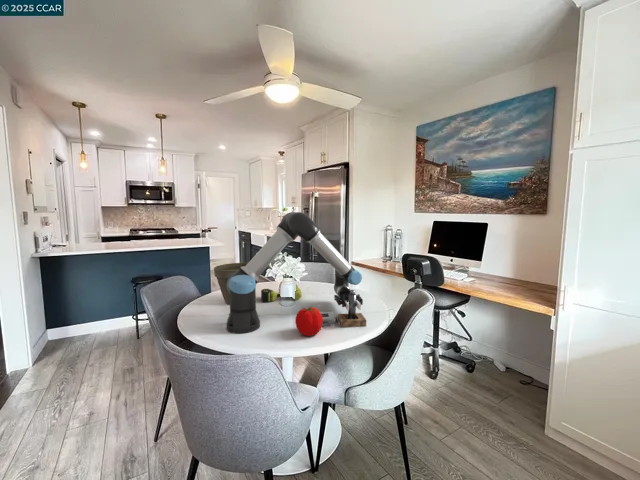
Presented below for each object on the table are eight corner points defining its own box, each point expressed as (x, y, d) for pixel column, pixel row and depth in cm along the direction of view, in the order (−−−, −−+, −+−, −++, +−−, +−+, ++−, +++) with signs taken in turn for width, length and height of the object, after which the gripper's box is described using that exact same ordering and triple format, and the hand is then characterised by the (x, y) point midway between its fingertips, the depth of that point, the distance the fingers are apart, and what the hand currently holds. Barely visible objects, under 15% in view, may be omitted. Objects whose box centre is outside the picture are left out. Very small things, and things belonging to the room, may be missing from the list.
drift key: (313, 328, 136) (313, 326, 136) (312, 327, 138) (312, 325, 138) (329, 326, 139) (329, 324, 139) (328, 324, 141) (328, 323, 141)
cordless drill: (261, 292, 199) (298, 290, 204) (260, 304, 175) (302, 302, 180) (261, 281, 199) (298, 280, 203) (260, 292, 174) (303, 290, 179)
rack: (340, 327, 138) (341, 321, 137) (337, 319, 148) (337, 313, 147) (366, 326, 139) (366, 320, 139) (361, 318, 149) (361, 313, 149)
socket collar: (314, 324, 141) (314, 319, 141) (312, 317, 151) (312, 312, 151) (335, 323, 142) (335, 318, 142) (332, 316, 152) (332, 311, 152)
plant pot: (212, 309, 164) (211, 270, 162) (217, 297, 187) (216, 263, 186) (258, 306, 169) (258, 268, 168) (257, 294, 193) (257, 261, 191)
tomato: (290, 337, 126) (290, 311, 125) (301, 326, 139) (301, 302, 138) (318, 340, 123) (318, 313, 122) (326, 329, 136) (326, 304, 135)
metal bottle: (348, 324, 141) (349, 291, 140) (347, 321, 145) (348, 289, 143) (356, 324, 142) (357, 291, 140) (354, 321, 145) (355, 289, 144)
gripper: (360, 300, 161) (372, 314, 138) (328, 301, 160) (334, 315, 136) (360, 286, 161) (372, 298, 138) (328, 287, 159) (335, 299, 136)
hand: (354, 307), depth 137 cm, fingers open, 5 cm apart
